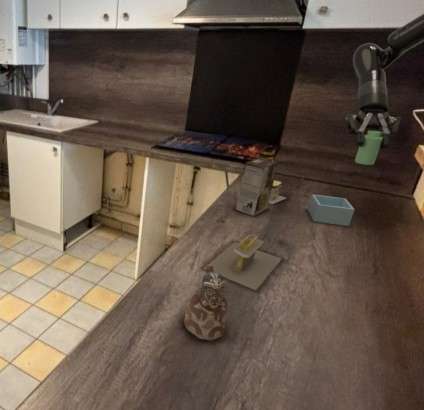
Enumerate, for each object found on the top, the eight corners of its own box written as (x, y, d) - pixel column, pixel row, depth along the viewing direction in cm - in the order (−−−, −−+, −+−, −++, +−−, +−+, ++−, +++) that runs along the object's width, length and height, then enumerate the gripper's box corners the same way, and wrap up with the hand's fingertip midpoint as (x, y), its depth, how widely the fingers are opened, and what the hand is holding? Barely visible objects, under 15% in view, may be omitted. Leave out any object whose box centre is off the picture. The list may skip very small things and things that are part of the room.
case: (340, 214, 114) (345, 198, 112) (348, 226, 106) (354, 209, 104) (307, 209, 117) (312, 194, 115) (313, 221, 109) (318, 204, 107)
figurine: (185, 336, 64) (194, 281, 59) (182, 310, 71) (190, 258, 66) (227, 342, 63) (239, 286, 58) (220, 315, 69) (231, 263, 65)
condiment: (272, 185, 138) (279, 155, 133) (249, 184, 138) (255, 154, 134) (265, 179, 144) (271, 150, 140) (243, 178, 145) (249, 149, 140)
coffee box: (249, 203, 122) (258, 157, 115) (267, 209, 117) (279, 161, 111) (235, 209, 116) (244, 162, 110) (254, 216, 112) (265, 167, 105)
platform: (203, 268, 84) (207, 244, 82) (234, 241, 97) (239, 220, 94) (255, 290, 77) (262, 264, 74) (282, 258, 89) (288, 235, 86)
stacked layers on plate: (262, 190, 133) (265, 176, 131) (286, 198, 126) (290, 183, 124) (247, 196, 128) (250, 181, 125) (272, 204, 121) (276, 189, 119)
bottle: (370, 161, 111) (381, 130, 107) (376, 165, 107) (387, 134, 103) (352, 159, 112) (362, 129, 108) (357, 164, 108) (367, 132, 104)
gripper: (349, 90, 110) (349, 137, 104) (406, 92, 105) (409, 141, 100) (340, 105, 117) (339, 150, 111) (393, 108, 112) (394, 155, 107)
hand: (372, 145), depth 105 cm, fingers closed on bottle, 5 cm apart
